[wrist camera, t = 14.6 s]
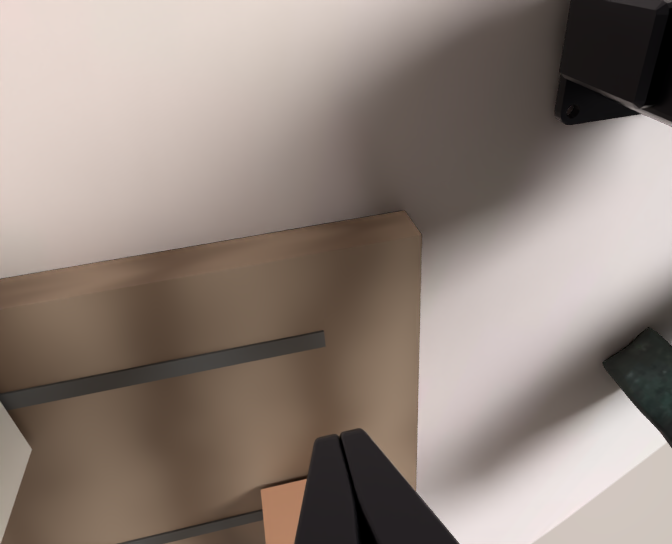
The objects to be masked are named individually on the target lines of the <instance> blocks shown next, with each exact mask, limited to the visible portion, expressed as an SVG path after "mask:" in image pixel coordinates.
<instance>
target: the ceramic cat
mask: <svg viewBox="0 0 672 544" xmlns="http://www.w3.org/2000/svg"><path fill="white" fill-rule="evenodd" d="M603 365H604V368H605V369H606V371H607V372H608V373H609V374H610V375H611V377H612V378H613V379H614V380H615V381H616V383H617V384H618V385H619V386H620V388H621V389H622V390H623V391H624V393H625V394H626V395H627V396H628V398H629V399H630V400H631V401H632V402H633V404H634V405H635V406H636V407H637V408H638V409H639V410H640V412H641V413H642V414H643V415H644V416H645V417H646V418H647V419H648V420H649V421H650V422H651V423H652V424H653V425H654V426H655V427H656V428H657V429H658V430H659V431H660V433H661V434H662V435H663V437H664V438H665V439H666V441H667V442H668V443H669V445H670V446H671V448H672V346H671V345H670V344H669V343H668V342H667V341H666V340H665V339H664V338H663V337H662V336H661V335H659V334H658V333H657V332H656V331H654V330H653V329H651V328H649V327H648V329H647V330H645V331H643V332H642V333H641V334H640V335H639V336H638V337H637V338H636V339H635V340H634V341H633V342H632V343H631V344H630V345H628V346H627V347H626V348H624V349H623V350H622V351H620V352H619V353H617V354H615V355H614V356H612V357H611V358H609V359H607V360H606V361H604V362H603Z"/></svg>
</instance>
